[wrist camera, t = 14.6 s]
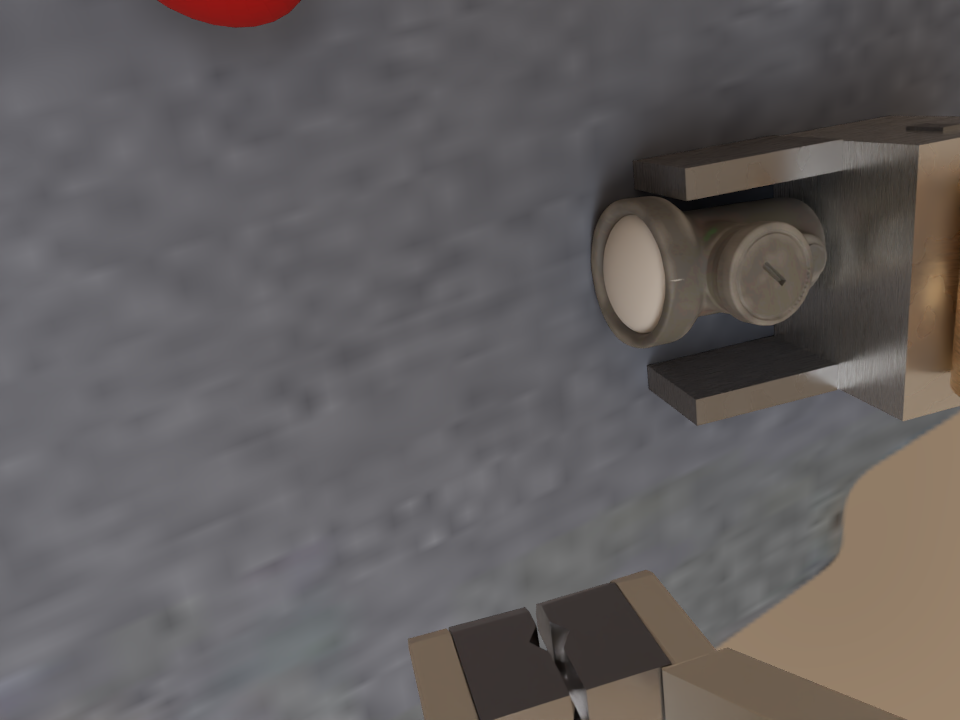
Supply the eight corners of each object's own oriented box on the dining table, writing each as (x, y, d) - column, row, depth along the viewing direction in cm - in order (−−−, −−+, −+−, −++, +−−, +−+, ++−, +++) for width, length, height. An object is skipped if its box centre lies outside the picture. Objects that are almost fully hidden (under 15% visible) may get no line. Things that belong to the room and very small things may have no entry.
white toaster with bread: (632, 158, 43) (837, 188, 27) (889, 112, 46) (1206, 114, 30) (648, 390, 48) (829, 528, 32) (879, 333, 51) (1146, 434, 35)
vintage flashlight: (586, 335, 45) (690, 375, 35) (579, 198, 43) (688, 202, 33) (750, 307, 49) (883, 336, 39) (751, 180, 47) (892, 178, 37)
